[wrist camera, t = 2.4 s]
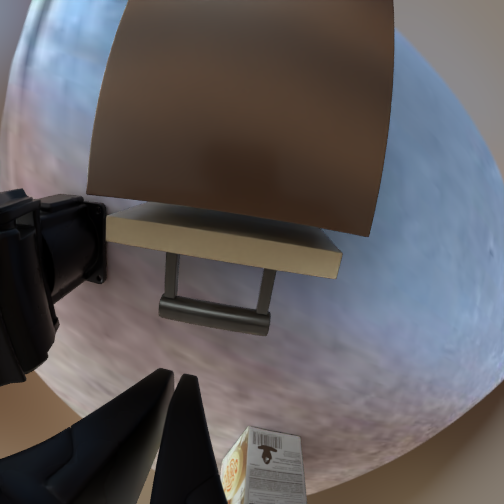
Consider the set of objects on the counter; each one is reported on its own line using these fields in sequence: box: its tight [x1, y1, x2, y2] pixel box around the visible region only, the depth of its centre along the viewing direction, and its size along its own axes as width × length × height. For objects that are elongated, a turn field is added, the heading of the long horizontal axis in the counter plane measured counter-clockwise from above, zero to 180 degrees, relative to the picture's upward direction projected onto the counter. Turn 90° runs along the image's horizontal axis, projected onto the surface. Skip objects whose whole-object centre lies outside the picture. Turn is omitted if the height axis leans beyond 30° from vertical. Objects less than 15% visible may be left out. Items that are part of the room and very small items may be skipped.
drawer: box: [106, 202, 343, 336], centre depth 14 cm, size 17×10×7 cm, turn 171°
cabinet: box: [86, 0, 394, 237], centre depth 12 cm, size 14×12×9 cm
